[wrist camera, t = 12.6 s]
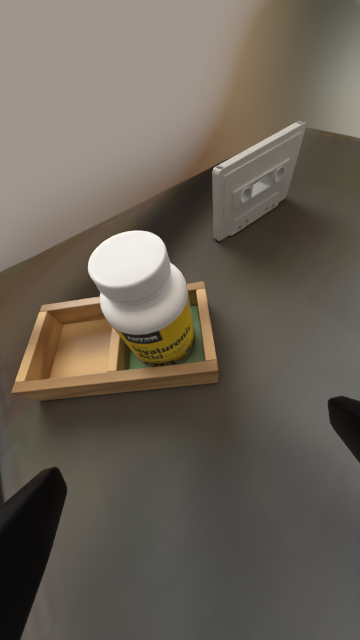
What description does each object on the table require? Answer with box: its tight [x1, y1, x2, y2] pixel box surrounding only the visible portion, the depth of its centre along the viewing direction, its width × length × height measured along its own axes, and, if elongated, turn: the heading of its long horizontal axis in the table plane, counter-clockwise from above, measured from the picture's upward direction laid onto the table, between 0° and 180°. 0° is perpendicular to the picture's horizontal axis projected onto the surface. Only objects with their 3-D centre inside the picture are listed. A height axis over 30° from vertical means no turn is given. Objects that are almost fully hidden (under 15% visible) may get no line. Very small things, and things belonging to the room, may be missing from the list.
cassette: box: [213, 121, 306, 241], centre depth 24 cm, size 12×2×8 cm, turn 127°
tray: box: [12, 282, 219, 401], centre depth 18 cm, size 8×15×3 cm, turn 94°
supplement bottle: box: [88, 231, 195, 367], centre depth 15 cm, size 5×5×10 cm
